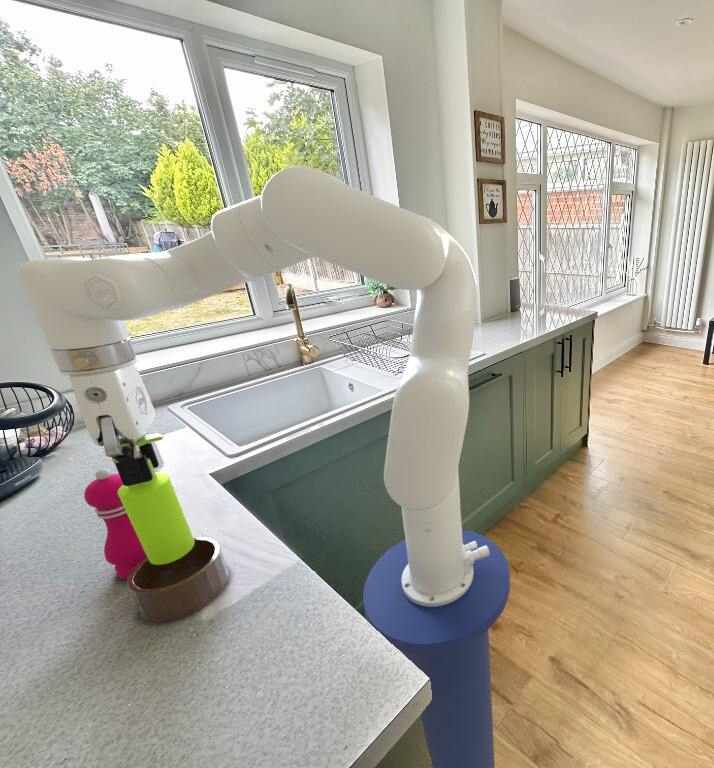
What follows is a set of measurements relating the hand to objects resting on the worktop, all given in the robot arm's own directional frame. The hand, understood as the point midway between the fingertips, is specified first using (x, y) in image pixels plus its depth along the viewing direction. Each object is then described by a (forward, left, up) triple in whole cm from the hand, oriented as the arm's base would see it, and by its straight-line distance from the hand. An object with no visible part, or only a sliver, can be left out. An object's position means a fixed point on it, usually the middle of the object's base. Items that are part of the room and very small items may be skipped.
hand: (142, 474), depth 61 cm
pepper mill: (+8, -11, -23) cm, 26 cm away
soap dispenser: (0, -1, -15) cm, 15 cm away
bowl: (0, 0, -23) cm, 23 cm away
